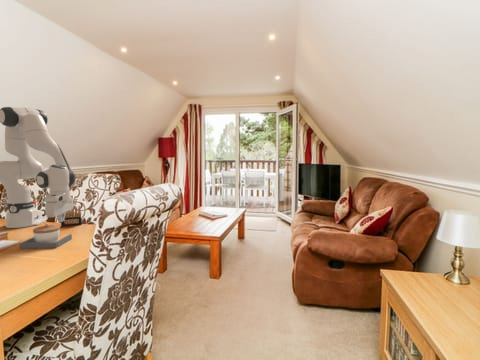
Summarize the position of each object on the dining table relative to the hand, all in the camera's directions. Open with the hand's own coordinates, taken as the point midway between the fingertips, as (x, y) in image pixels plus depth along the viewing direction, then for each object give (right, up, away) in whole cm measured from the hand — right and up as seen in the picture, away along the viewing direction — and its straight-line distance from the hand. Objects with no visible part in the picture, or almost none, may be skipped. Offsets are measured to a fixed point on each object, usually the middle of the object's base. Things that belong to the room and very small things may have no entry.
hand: (61, 221), depth 147 cm
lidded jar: (+2, -9, -13) cm, 16 cm away
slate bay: (+2, -9, -13) cm, 15 cm away
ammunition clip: (-8, -6, +22) cm, 24 cm away
